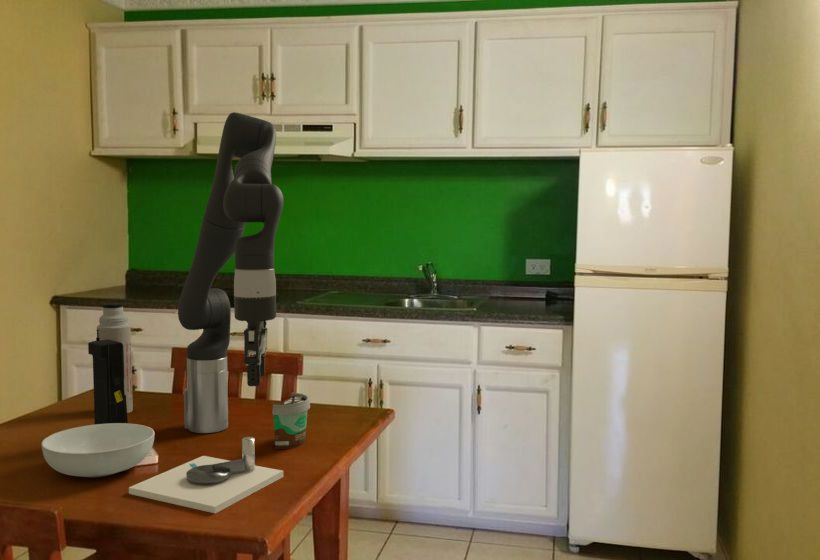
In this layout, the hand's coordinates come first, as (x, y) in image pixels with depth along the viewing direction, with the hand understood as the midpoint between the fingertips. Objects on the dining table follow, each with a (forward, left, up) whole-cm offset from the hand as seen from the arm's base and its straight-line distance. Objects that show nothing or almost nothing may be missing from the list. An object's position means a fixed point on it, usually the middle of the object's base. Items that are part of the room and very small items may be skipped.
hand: (256, 380), depth 139 cm
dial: (-8, -1, -19) cm, 20 cm away
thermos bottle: (-65, +27, -21) cm, 74 cm away
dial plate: (-9, -3, -20) cm, 23 cm away
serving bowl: (-34, -6, -21) cm, 40 cm away
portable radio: (-46, +8, -21) cm, 51 cm away
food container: (-9, +26, -21) cm, 35 cm away
